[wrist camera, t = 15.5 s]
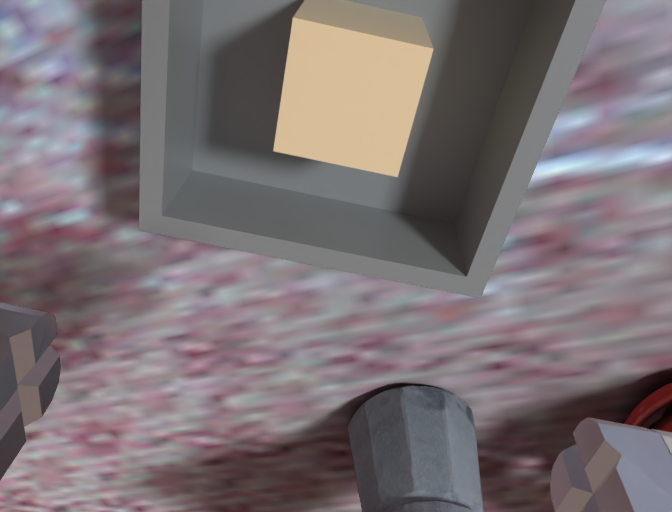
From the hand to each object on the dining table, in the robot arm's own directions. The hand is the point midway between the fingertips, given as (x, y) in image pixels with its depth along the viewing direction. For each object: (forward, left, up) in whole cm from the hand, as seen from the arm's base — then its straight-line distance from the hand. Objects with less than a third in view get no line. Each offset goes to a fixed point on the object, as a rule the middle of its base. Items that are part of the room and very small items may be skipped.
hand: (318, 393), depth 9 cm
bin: (0, 0, -22) cm, 22 cm away
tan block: (0, 0, -21) cm, 21 cm away
